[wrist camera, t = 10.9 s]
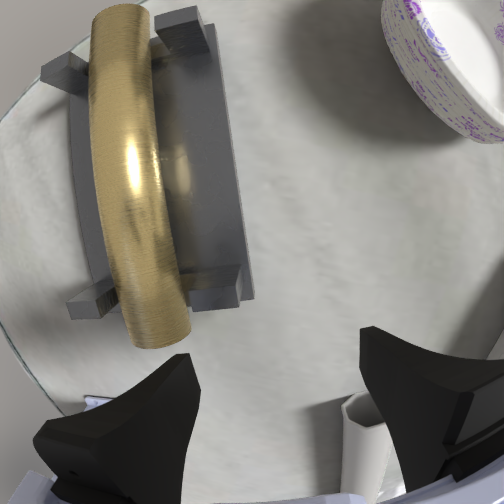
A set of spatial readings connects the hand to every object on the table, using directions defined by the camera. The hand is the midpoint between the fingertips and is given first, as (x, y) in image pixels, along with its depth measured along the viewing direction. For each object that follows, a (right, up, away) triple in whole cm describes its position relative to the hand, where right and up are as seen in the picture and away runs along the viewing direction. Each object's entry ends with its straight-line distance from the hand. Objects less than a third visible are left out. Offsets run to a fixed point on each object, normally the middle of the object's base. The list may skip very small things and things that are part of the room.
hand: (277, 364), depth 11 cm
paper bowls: (+16, +21, +6) cm, 27 cm away
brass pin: (-8, +10, +6) cm, 14 cm away
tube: (+12, -20, +15) cm, 28 cm away
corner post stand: (-8, +11, +8) cm, 16 cm away
